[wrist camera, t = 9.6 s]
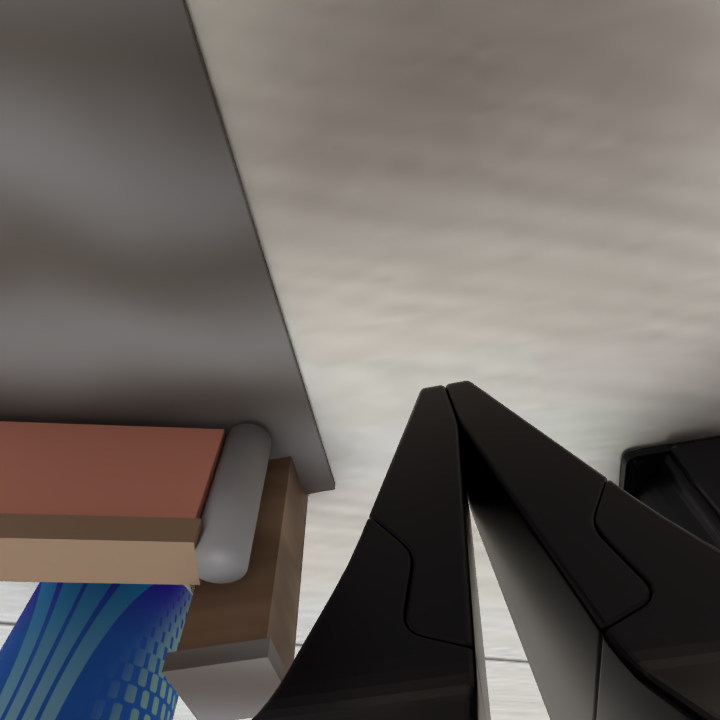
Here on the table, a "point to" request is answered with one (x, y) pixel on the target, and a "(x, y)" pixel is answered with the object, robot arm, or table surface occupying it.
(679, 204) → the table surface
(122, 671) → the beer can
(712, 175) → the table surface
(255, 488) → the bar
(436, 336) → the table surface
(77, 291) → the gate frame
